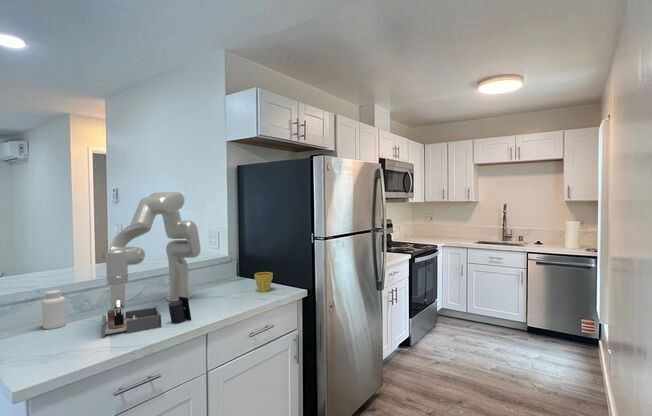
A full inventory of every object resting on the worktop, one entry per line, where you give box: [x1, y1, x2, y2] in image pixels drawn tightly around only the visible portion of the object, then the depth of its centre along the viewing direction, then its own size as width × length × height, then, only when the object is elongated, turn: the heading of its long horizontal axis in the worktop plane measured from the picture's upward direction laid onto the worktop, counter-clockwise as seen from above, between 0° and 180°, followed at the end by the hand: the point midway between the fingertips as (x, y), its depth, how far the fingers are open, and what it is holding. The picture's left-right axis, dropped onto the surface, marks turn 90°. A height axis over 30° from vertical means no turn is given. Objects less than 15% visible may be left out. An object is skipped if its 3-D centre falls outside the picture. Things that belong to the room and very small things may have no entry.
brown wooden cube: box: [107, 308, 115, 322], centre depth 155 cm, size 5×5×5 cm
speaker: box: [168, 297, 192, 324], centre depth 153 cm, size 8×6×10 cm
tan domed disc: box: [107, 317, 130, 329], centre depth 145 cm, size 8×8×2 cm
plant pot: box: [254, 271, 274, 293], centre depth 204 cm, size 10×10×10 cm
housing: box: [125, 306, 162, 334], centre depth 149 cm, size 12×15×5 cm
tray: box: [101, 314, 137, 338], centre depth 145 cm, size 13×14×5 cm
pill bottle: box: [41, 289, 67, 330], centre depth 151 cm, size 8×8×15 cm
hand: (119, 321), depth 145 cm, fingers open, 9 cm apart
